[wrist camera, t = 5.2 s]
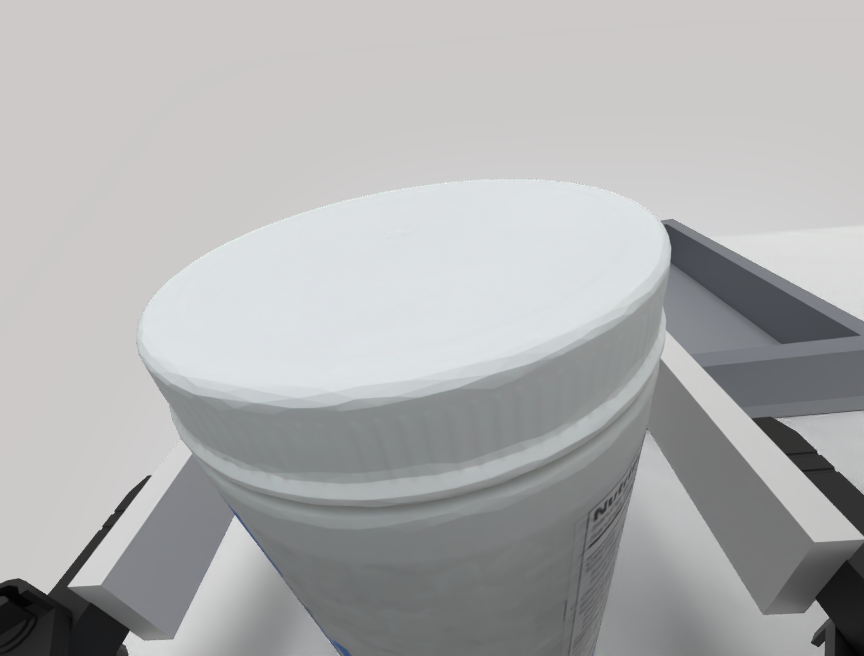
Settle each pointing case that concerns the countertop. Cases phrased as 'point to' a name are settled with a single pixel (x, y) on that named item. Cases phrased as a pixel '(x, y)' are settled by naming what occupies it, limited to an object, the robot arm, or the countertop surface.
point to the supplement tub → (427, 405)
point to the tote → (761, 332)
